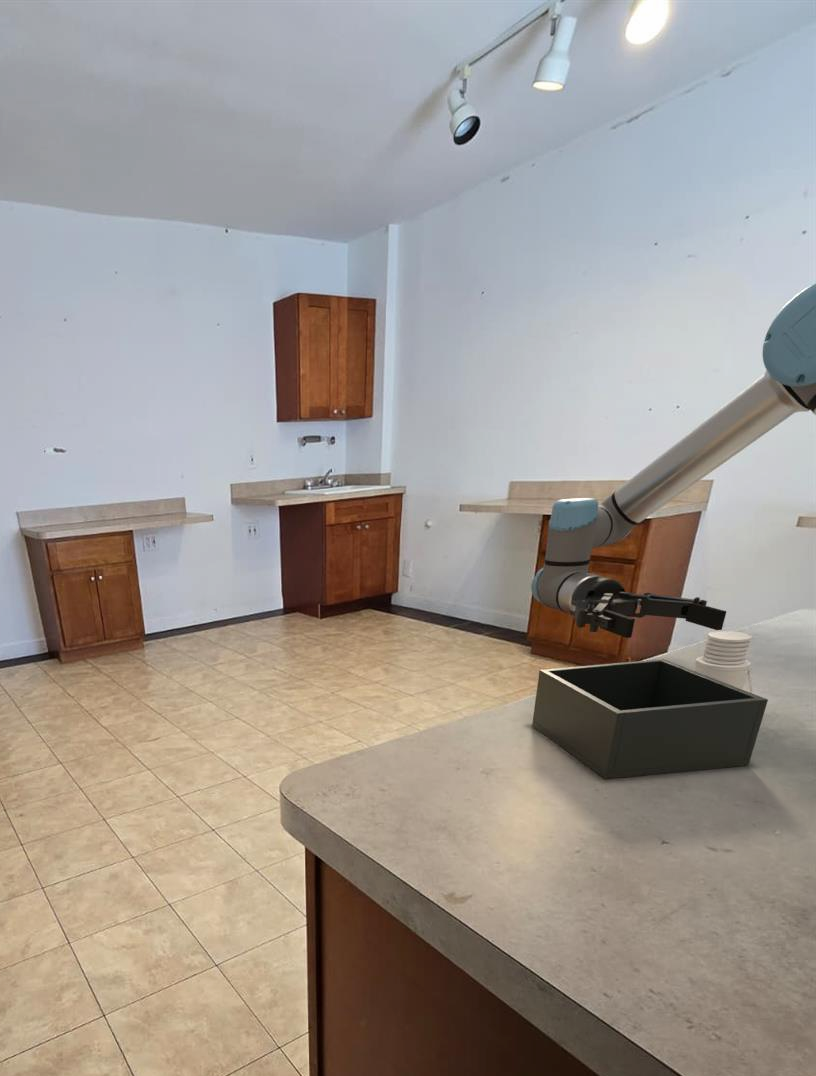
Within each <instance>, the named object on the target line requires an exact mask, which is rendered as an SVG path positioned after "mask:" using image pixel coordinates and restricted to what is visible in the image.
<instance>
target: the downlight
mask: <svg viewBox="0 0 816 1076" xmlns="http://www.w3.org/2000/svg"><path fill="white" fill-rule="evenodd" d="M751 640H752V635H750V634H749V633H745V632H740V631H730V630H714V631H709V632H708V633H707V637H706V641H705V645H704V648H703V649H704V650H703V654H702V655H700V656H698V657H696V659H695V664H694V667H693V671H696V672H698V673H701V674H703V675H706V676H708V677H711V678H714V679H716V680H719V681H721V682H724V683H726V684H729V685H732V686H734V687H737V688H739V689H742V690H744V687H745V684H746V681H747V677H748V685H749V692H750V693H752V694H753V685H752V679H751V678H752V677H751V669H750V666H751V661H749V660H748V659H746V658H747V654H748V652H749V648H750V644H751Z"/></svg>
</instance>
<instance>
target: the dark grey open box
mask: <svg viewBox="0 0 816 1076" xmlns="http://www.w3.org/2000/svg"><path fill="white" fill-rule="evenodd" d="M768 703H769V699H768V698H765V697H762V696H760V695H757V694H755V693H753V692H752V693H750V691H747V690H744V689H743V690H742V689H739V688H737V687H734V686H732V685H729V684H726V683H724V682H721V681H719V680H716V679H714V678H711V677H708V676H706V675H703V674H701V673H698V672H696V671H694V669H693V670H692V669H691V668H689V667H688V668H687V667H685V666H682V665H681V664H677V663H675V662H672V661H671V660H668V659H665V658H659V659H648V660H647V659H645V660H638V661H637V660H636V661H626V662H625V661H624V662H614V663H604V664H603V663H601V664H590V665H581V666H570V667H558V668H549V669H547V668H546V669H539V672H538V679H537V685H536V694H535V701H534V709H533V716H532V722H531V726H532V727H533V728H534V729H536V730H537V731H538V732H540V733H541V734H542V735H544V736H545V737H547V738H548V739H549V740H551V741H552V742H553V743H555V744H556V745H557V746H559V747H560V748H561V749H563V750H564V751H566V752H567V753H569V754H570V755H571V756H573V757H574V758H575V759H577V760H578V761H579V762H581V763H582V764H584V765H585V766H586V767H587V768H589V769H590V770H592V771H593V772H594V773H596V774H597V775H599V776H600V777H601V778H603V779H604V780H610V779H611V780H612V779H622V778H632V777H641V776H651V775H652V776H653V775H661V774H662V775H663V774H671V773H672V774H673V773H682V772H683V773H684V772H694V771H704V770H712V769H714V770H715V769H724V768H725V769H726V768H734V767H743V766H749V765H750V762H751V758H752V756H753V751H754V749H755V745H756V741H757V739H758V735H759V731H760V728H761V725H762V722H763V718H764V715H765V712H766V709H767V705H768Z"/></svg>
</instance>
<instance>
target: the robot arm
mask: <svg viewBox="0 0 816 1076" xmlns="http://www.w3.org/2000/svg"><path fill="white" fill-rule="evenodd" d="M762 361H763V365H764V367H765V369H766V370H765V372H764V373H763V375H761V376H760V377H759V378H758V379H756V380H755V381H754V382H753V383H751V384H750V385H749V386H747V387H746V388H744V390H742V391H741V392H740V393H739V394H737V395H736V396H735V397H733V398H732V399H731V400H730V401H728V402H727V403H726V404H725V405H723V406H722V407H720V408H719V409H718V410H717V411H715V412H714V413H713V414H711V415H710V416H709V417H708V418H707V419H705V420H704V421H702V422H701V423H700V424H699V425H698V426H697V427H695V428H694V429H692V430H691V431H690V432H689V433H688V434H686V435H685V436H683V438H681V439H680V440H679V441H677V442H675V444H674V445H672V446H671V447H669V448H668V449H667V450H666V451H665V452H663V453H662V454H661V455H660V456H658V457H656V459H654V460H653V461H652V462H650V463H649V464H648V465H647V466H645V467H644V468H643V469H642V470H640V471H639V472H638V473H636V474H635V475H634V476H632V477H631V478H630V479H628V480H627V481H626V482H625V483H623V485H621V486H620V487H618V488H617V489H616V490H615V491H614V492H613V493H610V495H609V496H607V497H606V498H604V499H603V500H602V501H601V502H600V503H599V501H598V500H597V498H593V497H575V498H562V499H558V500H556V501H555V502H554V503H553V505H552V508H551V514H550V519H549V521H548V533H547V540H546V548H545V557H544V563H543V567H542V568H540V569H539V570H537V572H536V574H535V575H534V577H533V578H532V580H531V584H530V590H531V594H532V597H533V598H534V599H535V600H536V601H537V602H539V603H540V604H542V605H543V606H545V607H547V608H549V609H553V610H557V611H560V612H563V613H566V614H567V615H570V616H572V617H574V623H575V626H576V627H577V628H580V629H581V628H585V627H586V625H589V630H588V632H591V633H597V632H599V628H600V629H602V630H604V631H606V632H609V633H612V634H614V635H617V636H620V637H622V638H625V639H631V638H632V636H633V633H634V628H635V627H634V626H635V621H636V618H639V619H640V618H641V619H642V618H644V617H645V616H651V617H652V616H653V617H663V618H673V619H684V620H685V622H687V623H690V624H694V625H698V626H701V627H703V628H704V627H705V628H707V629H708V628H709V629H711V630H714V631H723V627H724V623H725V620H726V616H727V612H728V611H727V610H725V609H720V608H716V607H713V606H709V605H707V604H708V600H705V599H701V597H699V596H696V597H694V598H686V597H677V596H670V595H661V594H656V593H651V592H645V593H643V594H638V593H637V594H636V593H633V592H631V591H626V589H625V587H624V586H623V584H622V583H621V582H620V581H619V580H616V579H613V578H609V577H605V576H602V575H598V574H595V573H590V572H588V571H589V566H590V561H591V556H592V555H591V554H592V549H593V550H594V549H596V548H600V547H604V546H611V545H614V544H616V543H618V542H619V541H622V540H624V539H625V538H626V537H627V536H628V535H630V533H632V531H633V529H634V528H635V527H637V526H638V525H639V524H640V523H641V522H644V520H645V519H647V518H648V517H650V516H651V515H653V514H654V513H655V512H657V511H658V510H660V509H661V508H663V507H664V506H665V505H667V504H669V503H670V502H671V501H672V500H674V499H675V498H676V497H678V496H680V495H682V493H684V492H685V491H687V490H688V489H690V488H692V486H693V485H695V484H697V483H698V482H700V481H701V480H702V479H703V478H705V477H706V476H709V474H710V473H712V472H713V471H715V470H716V469H718V468H719V467H720V466H722V465H724V464H725V463H726V462H728V461H729V460H730V459H732V458H733V457H734V456H736V455H737V454H738V453H739V454H740V452H741V451H743V450H744V449H746V448H748V447H749V446H750V445H752V444H753V443H755V442H756V441H757V440H759V439H760V438H761V437H763V436H764V435H765V434H767V433H769V432H770V431H771V430H773V429H774V428H775V427H777V426H778V425H780V424H781V423H782V422H784V421H786V420H787V419H788V418H790V417H791V416H793V415H794V414H795V413H802V412H803V413H804V412H809V411H811V412H812V413H813V414H814V416H816V282H814V283H812V284H810V285H809V286H807V287H806V288H804V289H803V290H801V291H800V292H799V293H797V294H796V295H794V296H793V297H792V298H791V299H790V300H788V302H787V303H786V304H785V305H784V306H782V308H781V309H780V311H779V312H778V313H777V314H776V316H775V317H774V319H773V320H772V322H771V324H770V325H769V328H768V329H767V331H766V334H765V337H764V340H763V345H762ZM639 606H640V608H639V612H637V611H638V607H639Z"/></svg>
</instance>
